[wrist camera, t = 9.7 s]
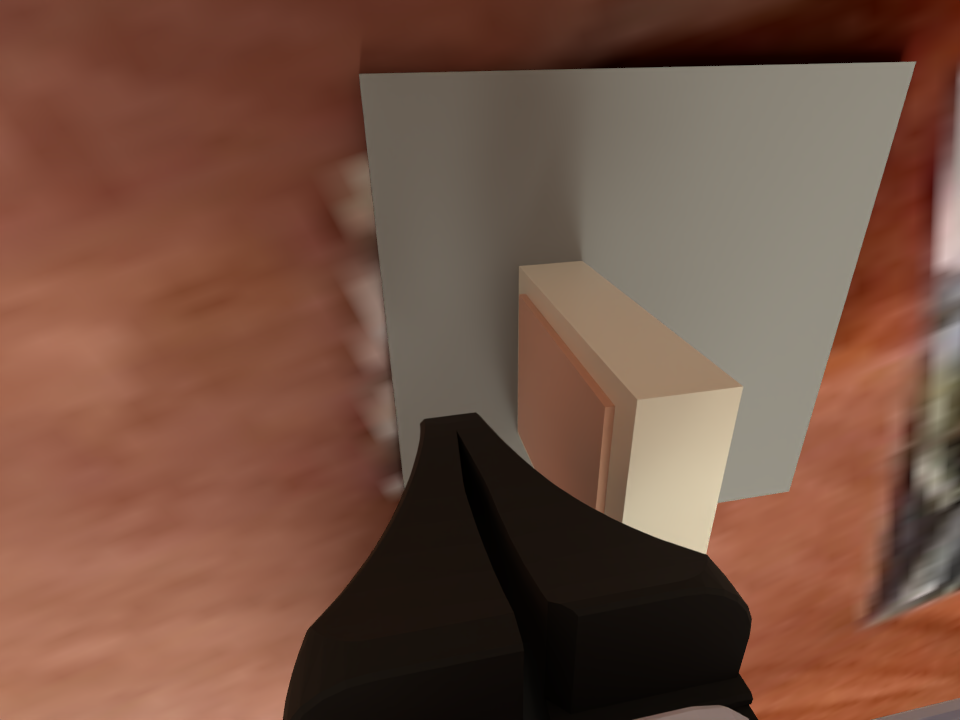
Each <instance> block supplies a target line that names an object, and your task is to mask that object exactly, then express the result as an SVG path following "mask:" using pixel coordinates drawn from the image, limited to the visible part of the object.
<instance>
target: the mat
mask: <svg viewBox="0 0 960 720" xmlns="http://www.w3.org/2000/svg"><path fill="white" fill-rule="evenodd" d="M915 64H916V62H880V63H834V64H789V65H743V66H697V67H652V68H606V69H560V70H514V71H469V72H423V73H377V74H359V80H360V89H361V98H362V107H363V116H364V125H365V134H366V144H367V153H368V162H369V171H370V180H371V189H372V198H373V207H374V217H375V226H376V235H377V244H378V253H379V262H380V271H381V281H382V290H383V299H384V308H385V317H386V326H387V335H388V345H389V354H390V363H391V372H392V381H393V390H394V399H395V408H396V418H397V427H398V436H399V445H400V454H401V463H402V472H403V482H404V490H405V487H406V485H407V482H408V480H409V477H410V474H411V471H412V468H413V465H414V461H415V458H416V454H417V450H418V445H419V440H420V423H421V422H422V421H423V420H424V419H427V418H434V417H442V416H450V415H458V414H466V413H474V412H476V413H477V414H479V415H480V416H481V417H482V418H483V419H484V421H485V422H486V423H487V424H488V425H489V426H490V427H491V428H492V429H493V430H494V431H495V432H496V433H497V435H498V436H499V437H500V438H501V439H502V440H503V441H504V442H505V443H506V444H507V445H508V446H510V447H511V448H512V449H513V450H514V451H515V452H516V453H517V454H518V455H519V456H520V457H521V458H523V459H524V460H525V461H526V462H527V463H528V464H529V465H531V466H532V464H531V461H530V459H529V457H528V455H527V453H526V450H525V448H524V446H523V444H522V441H521V439H520V437H519V435H518V433H517V429H518V312H519V266H525V265H538V264H550V263H562V262H574V261H583V262H584V263H586V264H587V265H588V266H590V267H591V268H592V269H593V270H595V271H596V272H597V273H599V274H600V275H601V276H602V277H604V278H605V279H606V280H607V281H609V282H610V283H611V284H613V285H614V286H615V287H616V288H618V289H619V290H620V291H622V292H623V293H624V294H625V295H627V296H628V297H629V298H631V299H632V300H633V301H634V302H636V303H637V304H638V305H640V306H641V307H642V308H643V309H645V310H646V311H647V312H648V313H650V314H651V315H652V316H654V317H655V318H656V319H657V320H659V321H660V322H661V323H663V324H664V325H665V326H666V327H668V328H669V329H670V330H672V331H673V332H674V333H675V334H677V335H678V336H679V337H681V338H682V339H683V340H684V341H686V342H687V343H688V344H689V345H691V346H692V347H693V348H695V349H696V350H697V351H698V352H700V353H701V354H702V355H704V356H705V357H706V358H707V359H709V360H710V361H711V362H713V363H714V364H715V365H716V366H718V367H719V368H720V369H721V370H723V371H724V372H725V373H727V374H728V375H729V376H730V377H732V378H733V379H734V380H736V381H737V382H738V383H739V384H741V385H742V386H743V390H742V395H741V399H740V404H739V408H738V413H737V417H736V422H735V426H734V431H733V435H732V440H731V444H730V449H729V453H728V458H727V462H726V467H725V471H724V476H723V480H722V485H721V489H720V494H719V498H718V503H720V502H726V501H732V500H739V499H745V498H751V497H757V496H763V495H769V494H776V493H782V492H788V491H789V489H790V486H791V483H792V479H793V476H794V472H795V469H796V466H797V462H798V459H799V456H800V452H801V449H802V445H803V442H804V439H805V435H806V432H807V429H808V425H809V422H810V418H811V415H812V412H813V408H814V405H815V401H816V398H817V395H818V391H819V388H820V385H821V381H822V378H823V374H824V371H825V368H826V364H827V361H828V358H829V354H830V351H831V347H832V344H833V341H834V337H835V334H836V331H837V327H838V324H839V320H840V317H841V314H842V310H843V307H844V303H845V300H846V297H847V293H848V290H849V287H850V283H851V280H852V276H853V273H854V270H855V266H856V263H857V260H858V256H859V253H860V249H861V246H862V243H863V239H864V236H865V233H866V229H867V226H868V222H869V219H870V216H871V212H872V209H873V205H874V202H875V199H876V195H877V192H878V189H879V185H880V182H881V178H882V175H883V172H884V168H885V165H886V162H887V158H888V155H889V151H890V148H891V145H892V141H893V138H894V134H895V131H896V128H897V124H898V121H899V118H900V114H901V111H902V107H903V104H904V101H905V97H906V94H907V91H908V87H909V84H910V80H911V77H912V74H913V70H914V67H915ZM532 467H533V466H532Z"/></svg>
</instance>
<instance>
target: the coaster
mask: <svg viewBox="0 0 960 720" xmlns="http://www.w3.org/2000/svg"><path fill="white" fill-rule="evenodd" d="M742 390H743V386H742V385H741V384H739V383H738V382H737V381H736V380H734V379H733V378H732V377H730V376H729V375H728V374H727V373H725V372H724V371H723V370H721V369H720V368H719V367H718V366H716V365H715V364H714V363H713V362H711V361H710V360H709V359H707V358H706V357H705V356H704V355H702V354H701V353H700V352H698V351H697V350H696V349H695V348H693V347H692V346H691V345H689V344H688V343H687V342H686V341H684V340H683V339H682V338H681V337H679V336H678V335H677V334H675V333H674V332H673V331H672V330H670V329H669V328H668V327H666V326H665V325H664V324H663V323H661V322H660V321H659V320H657V319H656V318H655V317H654V316H652V315H651V314H650V313H648V312H647V311H646V310H645V309H643V308H642V307H641V306H640V305H638V304H637V303H636V302H634V301H633V300H632V299H631V298H629V297H628V296H627V295H625V294H624V293H623V292H622V291H620V290H619V289H618V288H616V287H615V286H614V285H613V284H611V283H610V282H609V281H607V280H606V279H605V278H604V277H602V276H601V275H600V274H599V273H597V272H596V271H595V270H593V269H592V268H591V267H590V266H588V265H587V264H586V263H584V262H583V261H574V262H562V263H550V264H538V265H525V266H519V312H518V429H517V433H518V435H519V437H520V439H521V441H522V444H523V446H524V448H525V450H526V453H527V455H528V457H529V459H530V461H531V464H532V466H533V468H534V469H535V470H537V471H538V472H539V473H540V474H542V475H543V476H544V477H545V478H547V479H548V480H549V481H551V482H552V483H553V484H555V485H556V486H558V487H559V488H561V489H562V490H564V491H565V492H567V493H568V494H570V495H572V496H573V497H575V498H576V499H578V500H580V501H581V502H583V503H585V504H586V505H588V506H590V507H592V508H594V509H596V510H597V511H599V512H601V513H603V514H605V515H607V516H609V517H611V518H613V519H615V520H617V521H619V522H621V523H623V524H625V525H628V526H630V527H632V528H635V529H637V530H639V531H642V532H644V533H646V534H649V535H651V536H654V537H656V538H659V539H661V540H664V541H667V542H670V543H673V544H676V545H679V546H682V547H685V548H688V549H691V550H694V551H697V552H700V553H703V554H706V552H707V548H708V543H709V539H710V534H711V530H712V525H713V521H714V516H715V512H716V507H717V503H718V498H719V494H720V489H721V485H722V480H723V476H724V471H725V467H726V462H727V458H728V453H729V449H730V444H731V440H732V435H733V431H734V426H735V422H736V417H737V413H738V408H739V404H740V399H741V395H742Z"/></svg>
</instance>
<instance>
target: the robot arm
mask: <svg viewBox="0 0 960 720" xmlns="http://www.w3.org/2000/svg"><path fill="white" fill-rule="evenodd" d="M751 621H752V618H751V615H750V611H749V608H748V606H747V604H746V603H745V602H744V600H743V599H742V597H741V596H740V595H739V593H738V592H737V591H736V589H735V588H734V586H733V585H732V584H731V583H730V581H729V580H728V579H727V577H726V576H725V575H724V574H723V573H722V571H721V570H720V569H719V568H718V567H717V566H716V565H715V564H714V562H713V561H712V560H711V559H710V558H709V557H708V555H706V554H703V553H700V552H697V551H694V550H691V549H688V548H685V547H682V546H679V545H676V544H673V543H670V542H667V541H664V540H661V539H659V538H656V537H654V536H651V535H649V534H646V533H644V532H642V531H639V530H637V529H635V528H632V527H630V526H628V525H625V524H623V523H621V522H619V521H617V520H615V519H613V518H611V517H609V516H607V515H605V514H603V513H601V512H599V511H597V510H596V509H594V508H592V507H590V506H588V505H586V504H585V503H583V502H581V501H580V500H578V499H576V498H575V497H573V496H572V495H570V494H568V493H567V492H565V491H564V490H562V489H561V488H559V487H558V486H556V485H555V484H553V483H552V482H551V481H549V480H548V479H547V478H545V477H544V476H543V475H542V474H540V473H539V472H538V471H537V470H535V469H534V468H533V467H532V466H531V465H529V464H528V463H527V462H526V461H525V460H524V459H523V458H521V457H520V456H519V455H518V454H517V453H516V452H515V451H514V450H513V449H512V448H511V447H510V446H508V445H507V444H506V443H505V442H504V441H503V440H502V439H501V438H500V437H499V436H498V435H497V433H496V432H495V431H494V430H493V429H492V428H491V427H490V426H489V425H488V424H487V423H486V422H485V421H484V419H483V418H482V417H481V416H480V415H479V414H477V413H476V412H474V413H466V414H458V415H450V416H442V417H434V418H427V419H424V420H423V421H422V422H421V423H420V440H419V445H418V450H417V454H416V458H415V461H414V465H413V468H412V471H411V474H410V477H409V480H408V482H407V485H406V487H405V490H404V492H403V495H402V498H401V500H400V502H399V504H398V506H397V509H396V511H395V513H394V515H393V517H392V518H391V520H390V522H389V524H388V526H387V528H386V530H385V531H384V533H383V535H382V536H381V538H380V540H379V541H378V543H377V545H376V546H375V548H374V549H373V551H372V553H371V554H370V556H369V557H368V558H367V560H366V561H365V563H364V564H363V565H362V567H361V568H360V569H359V571H358V572H357V573H356V575H355V576H354V577H353V579H352V580H351V581H350V583H349V584H348V585H347V587H346V588H345V589H344V590H343V592H342V593H341V594H340V595H339V596H338V597H337V599H336V600H335V601H334V602H333V603H332V604H331V605H330V606H329V607H328V608H327V609H326V611H325V612H324V613H323V614H322V615H321V616H320V617H319V618H318V619H317V620H316V621H315V623H314V624H313V625H312V626H311V627H310V628H309V629H308V630H307V632H306V635H305V637H304V640H303V643H302V646H301V648H300V651H299V654H298V657H297V660H296V663H295V666H294V669H293V673H292V676H291V680H290V684H289V688H288V692H287V696H286V701H285V708H284V715H283V720H758V719H757V717H756V716H755V714H754V712H753V711H752V709H751V708H750V706H749V704H751V703H752V700H753V697H752V694H751V691H750V690H749V688H748V687H747V685H746V684H745V682H744V680H743V679H742V677H741V676H740V674H739V670H740V666H741V663H742V659H743V656H744V653H745V649H746V646H747V642H748V639H749V635H750V629H751ZM872 720H960V698H958V699H954V700H949V701H945V702H941V703H937V704H933V705H929V706H925V707H921V708H917V709H913V710H909V711H905V712H901V713H897V714H893V715H889V716H885V717H881V718H877V719H872Z"/></svg>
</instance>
